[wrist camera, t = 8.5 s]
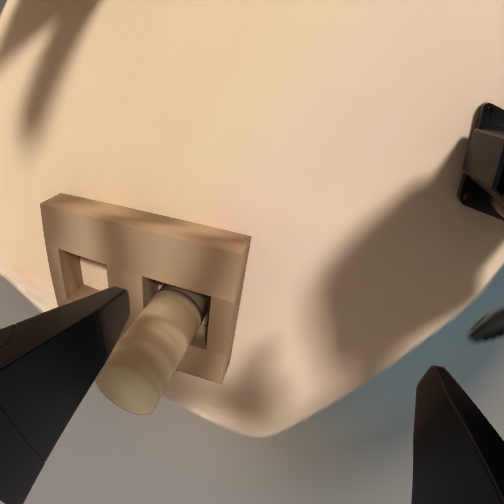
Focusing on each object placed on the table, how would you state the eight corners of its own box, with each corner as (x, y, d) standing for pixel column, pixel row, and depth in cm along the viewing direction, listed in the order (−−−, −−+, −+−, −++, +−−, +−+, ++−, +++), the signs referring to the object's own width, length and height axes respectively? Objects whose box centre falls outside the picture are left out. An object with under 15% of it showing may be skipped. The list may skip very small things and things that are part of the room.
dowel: (214, 280, 23) (152, 385, 14) (210, 321, 25) (157, 423, 16) (165, 266, 23) (87, 357, 14) (164, 307, 25) (100, 398, 16)
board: (251, 236, 21) (241, 254, 18) (229, 362, 26) (221, 384, 24) (60, 193, 22) (40, 203, 20) (76, 308, 28) (62, 323, 26)
